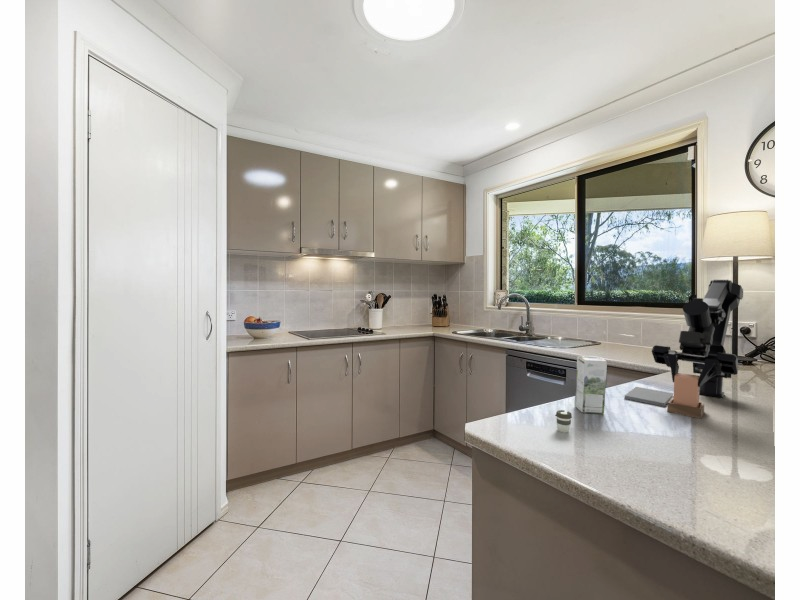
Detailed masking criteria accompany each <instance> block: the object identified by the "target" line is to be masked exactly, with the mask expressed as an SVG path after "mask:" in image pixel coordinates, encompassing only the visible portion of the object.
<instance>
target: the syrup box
mask: <svg viewBox="0 0 800 600" xmlns="http://www.w3.org/2000/svg"><path fill="white" fill-rule="evenodd" d="M607 366H608V362H607V360H606V359H604V358H603V357H601V356H591V355H590V356H587V355H585V356H583V355H577V357H576V372H575V373H576V375H575V376H576V377H575V379H576V380H575V395H574V396H575V397H574V406H575V407H576V408H577V410H579V412H581V414H582V413H585V414H600V415H604V414H605V406H606V405H605V404H606V403H605V402H606V387H607V386H606V384H607V369H608V367H607Z"/></svg>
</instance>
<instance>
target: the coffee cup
mask: <svg viewBox="0 0 800 600" xmlns="http://www.w3.org/2000/svg"><path fill="white" fill-rule="evenodd" d="M572 415H573V414H572V413H571V411H569V410H567V411H566V410H565V409H564V410H563V409H561V410H557V411H556V413H555V417H556V429H557V431H558V432H559V433H566V434H567V433H569V432H570V427H571V423H572Z"/></svg>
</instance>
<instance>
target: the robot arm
mask: <svg viewBox="0 0 800 600" xmlns="http://www.w3.org/2000/svg"><path fill="white" fill-rule="evenodd" d="M743 298H744V288H743V287H742V285H741V284H738V283H734V282H732V280H729V279H713V280H710V282H709V284H708V289H707V291H706V293H705V295H704V297H703V298H702V297H694V298H693V300H692V301H688V302H686V303H685V304H684V305H682V312H683V315H684V319H685V323H686V326H687V327H688V330H681V331H680V332H679V333H680V334H679V338H678V343H679V344H680V346H679V350H680V352H679V351H677V350H675V349H672V348H671V346H669V345H661V344H660V345H659V344H655V345H654V346H653V347H652V349H651V354H652V357H653V360H654V363H656V364H661V365H665V366H666V367H668V368H670V371H671V372H670V373H671V378H672V379H671V380H672V383H674V376H675V375H676V374H677V373H679V369H680V366H679V361H682V362H688V363H692V373H693V374H699V376H700V377H699V380H698V387H700V391H699V395H704V396H709V397H710V396H711V397H715V398H722V399H723V398H724V396H725V392H724V391H723V385H724V384H723V383H724V382H723V381H724V379H731V378H732V375H733V376H735V375H738V374H739V372H738V371H739V367H740V366H739V359H738V356H737V354H734V353H729V352H728V353H727V351H726V349H725V347H724V344H725V342H726V341H725V340H726V335H727V331H728V326H729V321H730V317H731V314H732V311H733V310H735V309H736V308H738V307H739V304H740V301H741V300H743Z"/></svg>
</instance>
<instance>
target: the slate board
mask: <svg viewBox="0 0 800 600" xmlns="http://www.w3.org/2000/svg"><path fill="white" fill-rule="evenodd" d="M672 397H674V392H668V391H662V390H657V389H651V388H645V387H640V386H635V387H634V388H633V389H631V390H629V391H628V393H626V394H624V400H628V399H630V401H633V400H635V401H634V402H638V401H640V403H643V402H645V404H648V403H650V404H649V405H653V406H659V407H665V406H666V405H668V402H669V401H670V399H671V398H672Z"/></svg>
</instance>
